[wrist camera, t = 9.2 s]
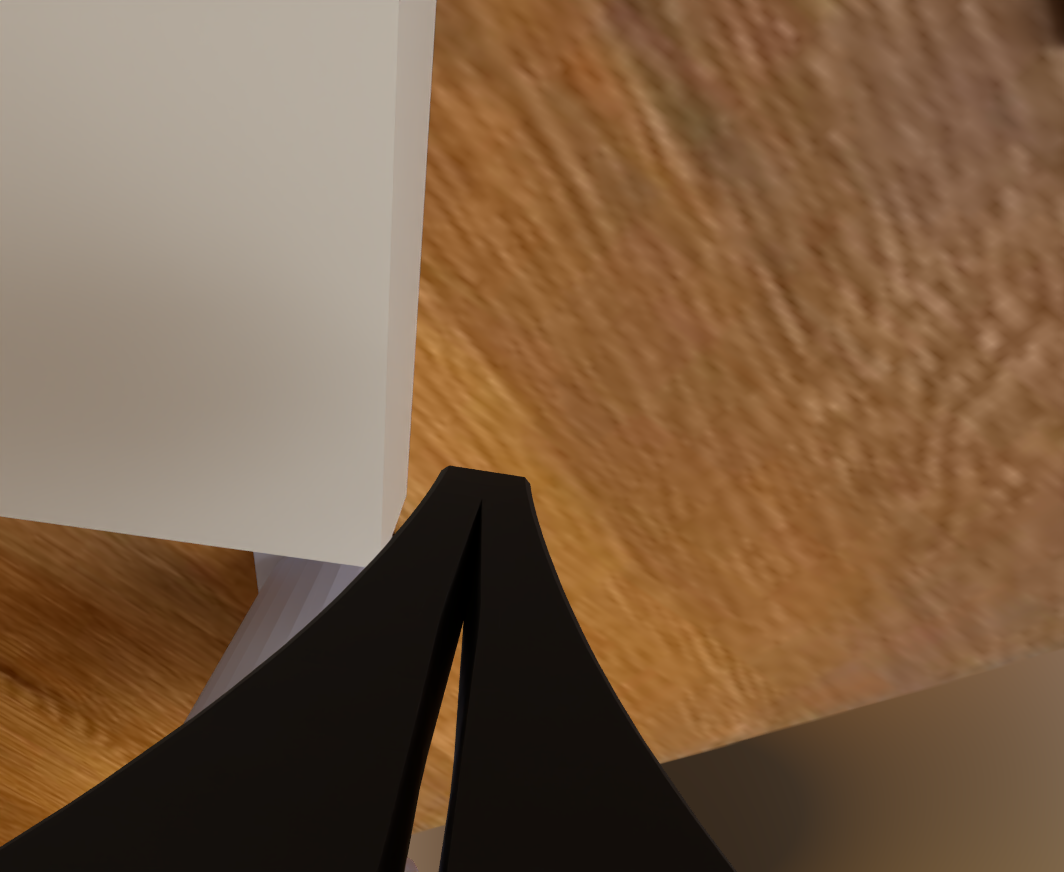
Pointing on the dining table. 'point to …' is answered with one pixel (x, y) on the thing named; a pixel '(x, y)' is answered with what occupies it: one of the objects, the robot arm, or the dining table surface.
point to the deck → (212, 267)
